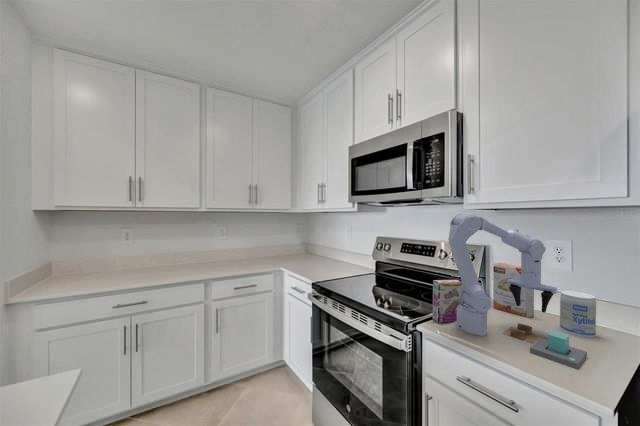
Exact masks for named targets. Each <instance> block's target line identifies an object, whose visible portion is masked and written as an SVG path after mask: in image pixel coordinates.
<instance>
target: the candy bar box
mask: <svg viewBox="0 0 640 426" xmlns="http://www.w3.org/2000/svg"><path fill="white" fill-rule="evenodd" d="M462 285H463V284H462V281H461V280H459V279H438V280H437V279H436V280H435V279H434V280H432V320H433V321H435V322H436V323H437V324H449V323H455V322H457V310H458V308H459V307H460V306H464V302H463V301H462V298H461V293H462V291H461V286H462Z"/></svg>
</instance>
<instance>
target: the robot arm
mask: <svg viewBox="0 0 640 426" xmlns="http://www.w3.org/2000/svg"><path fill="white" fill-rule="evenodd" d="M449 226H450V228H449V233H448V238H447V239H448V243H449V246H450V250H451V253H452V255H453V258H454V261H455V262H454V263H455V265H456V268H457V271H458V274H459V277H460V278H459V279H460V281H461V282H462V284H463V285H462V286H461V291H462V293H461V298H462V301H463V302H464V306H460V307H459V308H458V310H457V320H456V329H458V330H461V331H465V332H466V333H469V334H470V335H473V336H479V337H480V336H481V337H483V336H486V335H488V312H489V311H490V310H491V308H492V306H493V305H492V304H493V302H492V300H491V298H490V297H489V296H488V295H487V293H486V291H485V289H484V288H483V287H482V285H481V284H480V282H479V279H478V276H477V273H476V270H475V267H474V263H473V261H472V257H471V254H470V251H469V248H468V245H467V241H468V240H469V239H470V238H471V237H472V236H473V235H475V234H476V233H477V232H478V231H483V232H484V231H485V232H487V233H489V234H491V235H494V236H496V237H499V238H501V241H502V243H503V244H506V245H508V246H510V247H512V248H514V249H516V250H517V251H518V252H519V253H520V256H521V257H520V259H521V260H520V265H521V281H520V280H512V279H508V280H507V285H510V287H509V289H510V290H511V292H512V294H513V296H514V299H515V302H516V306H520V304H521V299H520V294H521V287H524V288H529V289H534V291H540V292H541V293H540V298H541V312H542V313H547V308H548V305H549V303H550V301H551V299H552V297H553V296H554V295H556V294H558V287H556V286H552V285H548V284H547V285H546V284H542V259H543V255H544V254H545V252H546V250H547V247H545V244H544V243H543V242H542V241H541V240H539V239H536V238H531V236H530V235H528V234H524V233H521V232H520V230H519V229H516V228H508V229H505V228H503V227H501V226H499V225H497V224H495V223H494V222H492V221H489V220H487V219H485V218H484V217H481V216H478V215H476V214H461V213H460V214H456V215H454V217H453V218H452V219H451V220H450V221H449Z"/></svg>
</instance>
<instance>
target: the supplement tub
mask: <svg viewBox="0 0 640 426" xmlns="http://www.w3.org/2000/svg"><path fill="white" fill-rule="evenodd" d="M596 298H597V297H596V296H595V295H593V294H590V293H587V292H586V293H585V292H581V291H577V290H576V291H575V290H562V291H560V300H559V301H560V302H559V329H560V330H561V331H563V332H565V333H567V334H570V335H573V336H577V337H582V338H595V337H596V334H597V333H596V332H597V328H596V327H597V299H596Z"/></svg>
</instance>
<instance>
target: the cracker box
mask: <svg viewBox="0 0 640 426" xmlns="http://www.w3.org/2000/svg"><path fill="white" fill-rule="evenodd" d="M492 267H493V268H492V269H493V273H492V274H493V282H492V283H493V284H492V285H493V287H492V289H493V294H492V295H493V296H492V297H493V298H492V299H493V300H492V301H493V302H492V304H493V305H492V306H493V309H496V310H499V311H502V312H505V313H508V314H512V315H515V316H517V317H518V316H519V317H523V318H526V319H530V318H534V316H535V290H534V289H529V288H524V287H521V294H520V299H521V304H520V306H516V302H515V299H514V296H513V294H512V292H511V290H510V289H509V287H510V285H507V280H508V279H512V280H520V281H521V266H520V265H516V264H510V263H505V262H496V263H493V266H492Z"/></svg>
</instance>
